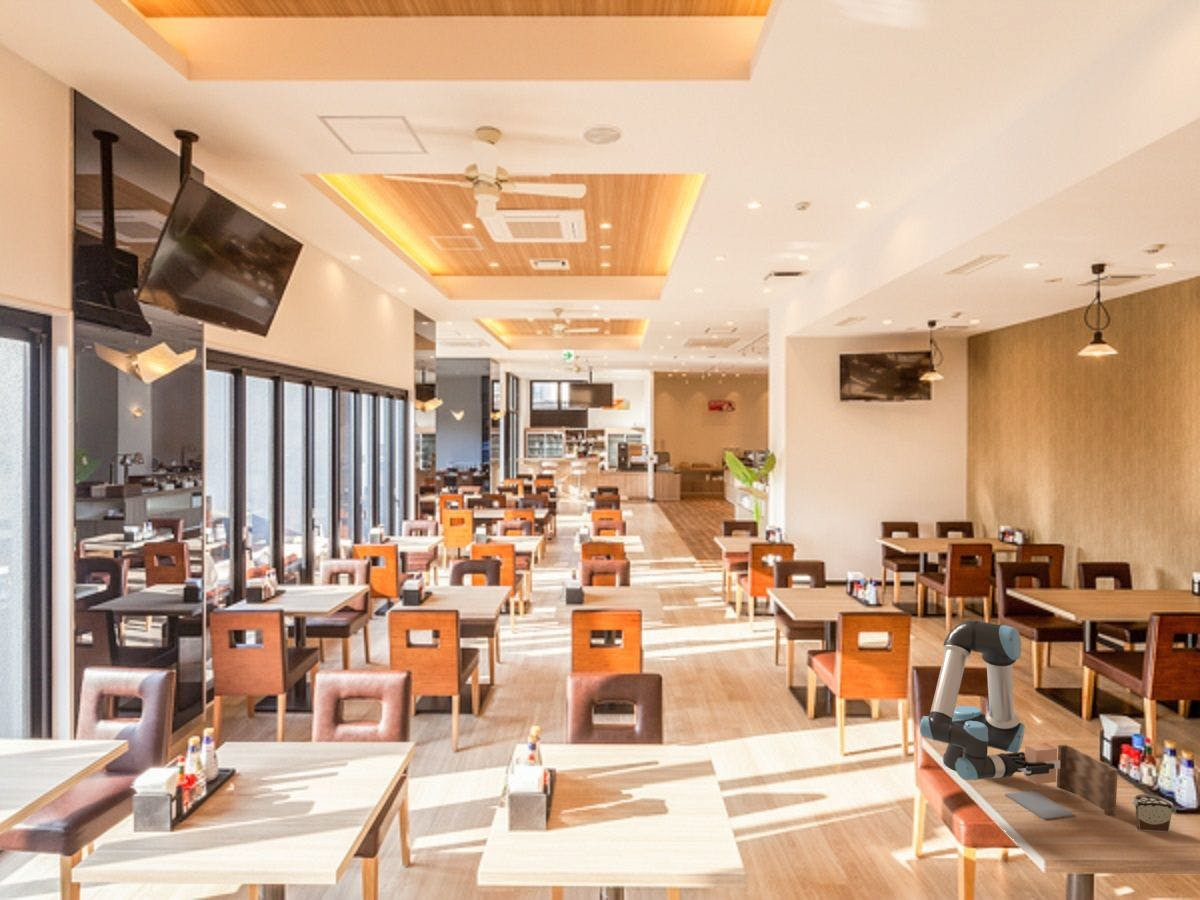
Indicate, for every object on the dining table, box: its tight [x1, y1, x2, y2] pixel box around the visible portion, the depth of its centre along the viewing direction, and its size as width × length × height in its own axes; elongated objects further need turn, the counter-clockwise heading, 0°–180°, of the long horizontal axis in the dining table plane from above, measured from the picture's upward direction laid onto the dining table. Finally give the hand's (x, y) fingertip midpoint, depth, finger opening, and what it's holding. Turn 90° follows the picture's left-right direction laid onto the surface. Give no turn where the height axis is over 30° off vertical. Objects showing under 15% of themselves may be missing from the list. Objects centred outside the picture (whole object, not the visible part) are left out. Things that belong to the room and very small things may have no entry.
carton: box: [1023, 742, 1058, 785], centre depth 276 cm, size 5×9×12 cm, turn 104°
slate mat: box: [1004, 790, 1076, 820], centre depth 277 cm, size 18×13×1 cm
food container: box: [1132, 793, 1175, 833], centre depth 263 cm, size 12×6×10 cm, turn 84°
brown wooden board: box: [1056, 743, 1119, 817], centre depth 281 cm, size 22×4×16 cm, turn 14°
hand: (1052, 760), depth 277 cm, fingers closed on carton, 5 cm apart
